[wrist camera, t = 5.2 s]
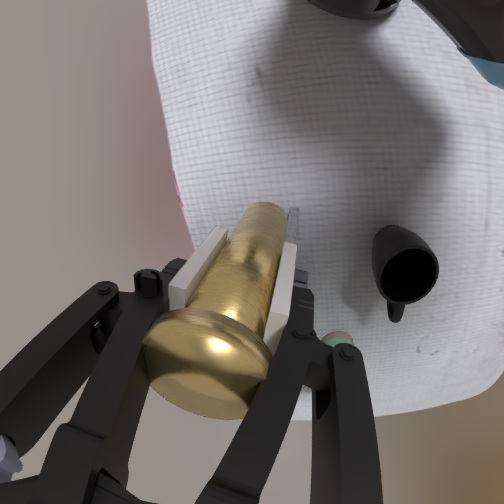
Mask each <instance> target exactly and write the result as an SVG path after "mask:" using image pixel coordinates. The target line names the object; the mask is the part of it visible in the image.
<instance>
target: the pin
mask: <svg viewBox="0 0 504 504" xmlns="http://www.w3.org/2000/svg"><path fill="white" fill-rule="evenodd" d="M287 227H288V220H287V217H286V214H285V213H284V211H283V210H282V209H281V208H280V207H279V206H277V205H276V204H273V203H270V202H259V203H256V204H254V205H252V206H251V207H250V208H249V209H248V210H247V211H246V213H245V214H244V216H243V217H242V219H241V220H240V222H239V223H238V225H237V226H236V228H235V229H234V231H233V232H232V234H231V235H230V237H229V239H228V240H227V242H226V243H225V245H224V246H223V248H222V249H221V251H220V252H219V254H218V255H217V257H216V259H215V260H214V262H213V263H212V265H211V266H210V268H209V269H208V271H207V273H206V274H205V276H204V277H203V279H202V280H201V282H200V284H199V285H198V287H197V288H196V290H195V291H194V293H193V295H192V296H191V298H190V299H189V301H188V303H187V304H186V306H185V307H184V308H180V309H175V310H171V311H168V312H166V313H164V314H162V315H161V316H159V317H158V318H157V319H156V320H155V322H154V323H153V325H152V326H151V327H150V329H149V330H148V332H147V333H146V335H145V336H144V338H143V339H142V341H141V342H140V343H143V348H144V354H145V359H146V365H147V370H148V376H149V381H150V386H151V387H152V388H153V389H154V390H155V391H156V392H157V393H158V394H160V395H161V396H162V397H163V398H165V399H166V400H168V401H169V402H171V403H173V404H175V405H176V406H178V407H180V408H182V409H184V410H186V411H189V412H192V413H194V414H197V415H201V416H204V417H209V418H214V419H222V420H235V419H243V418H244V417H245V415H246V413H247V411H248V409H249V407H250V405H251V403H252V401H253V398H254V396H255V394H256V392H257V390H258V388H259V386H260V384H261V382H262V380H266V376H267V371H268V367H269V365H270V362H271V360H272V358H273V356H272V353H271V351H270V349H269V348H268V346H267V345H266V344H265V342H264V341H263V340H264V335H265V327H266V323H267V319H268V314H269V310H270V306H271V301H272V297H273V292H274V287H275V283H276V278H277V274H278V269H279V264H280V260H281V255H282V251H283V247H284V242H285V237H286V232H287Z"/></svg>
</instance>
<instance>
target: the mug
mask: <svg viewBox="0 0 504 504" xmlns="http://www.w3.org/2000/svg"><path fill="white" fill-rule="evenodd" d="M372 268H373V274H374V277H375V281H376V284H377V287H378V289H379V292H380V294H381V295H382V296H383V297H384V298H385V299H386V300H387V310H388V316H389V319H390V321H391V322H393V323H397V322H399V321H400V320H401V318H402V315H403V312H404V308H405V304H410V303H414V302H416V301H418V300H420V299H422V298H423V297H424V296H426V295H427V294H428V293H429V292H430V291H431V290H432V288H433V287H434V285H435V283H436V281H437V278H438V273H439V264H438V261H437V258H436V256H435V254H434V253H433V251H432V250H431V249H430V248H429V246H428V245H427V244H426V242H425V241H423V240H422V239H421V238H420V237H419V236H418V235H416V234H415V233H413V232H411V231H409V230H407V229H405V228H402V227H399V226H396V225H389V226H386V227H384V228H382V229H381V230H380V231H379V232H378V233H377V234H376V236H375V239H374V245H373V250H372Z"/></svg>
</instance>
